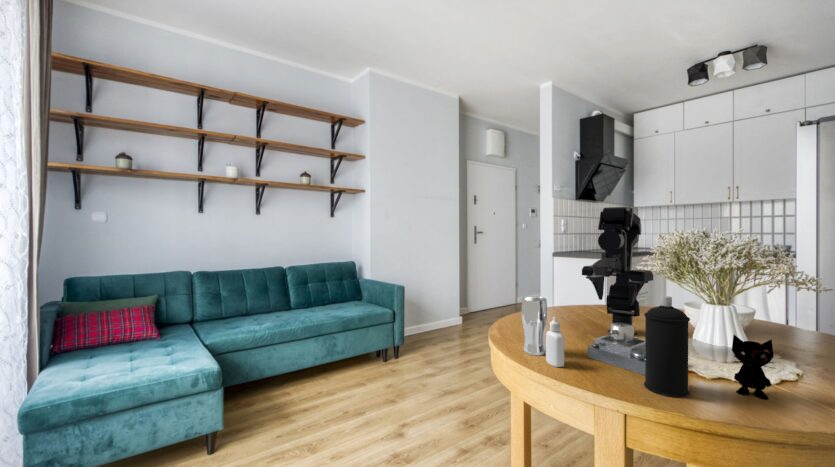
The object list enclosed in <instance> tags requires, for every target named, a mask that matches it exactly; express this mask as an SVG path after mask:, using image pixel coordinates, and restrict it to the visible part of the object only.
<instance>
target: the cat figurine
mask: <svg viewBox="0 0 835 467" xmlns="http://www.w3.org/2000/svg"><path fill="white" fill-rule="evenodd" d="M731 346H732V347H731V351H732V354H733V357H734V358H736V359H737V361H736V360H732V362H734V363H742V365H741V367H740V369H739V370H738V372H736V373H734V376H733V378H734V380H735V381H736V382H738V383H739V385H740V387H739V388H738V389H737V390H736V391H735V393H736V394H738V395H740V396H750V394H751V392H750V389H751V390H754V391H753V393H752V394H753V396H755V398H758V399H760V400H764V401H765V400H766V401H767V400H769V399H770V398H769V397H768V396H767V394H766V392H764V390H765V389H766V388H769V387H771V386H772V384H771V380H770V379H769V378H768V377H766V376H767V375H766V374H765V372H764V370H763V367H766V368H769V369H773V367H771V366H767V364H772V363H775V361H772V360H773V358H774V357H775V356H774V348H773V347H774V346H773V339H770V340H767V341H765V342H763V343H759V342H758V341H753V340H745V341H743V340H742V339H741V338H740V337H738V336H737V335H735V334H733V338H732V345H731ZM771 361H772V362H771ZM774 369H775V370H776V368H774Z"/></svg>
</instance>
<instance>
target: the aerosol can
mask: <svg viewBox="0 0 835 467" xmlns="http://www.w3.org/2000/svg"><path fill="white" fill-rule="evenodd" d="M643 316H644V317H645V322H644V323H645V324H644V325H645V328H644V329H645V339H644V340H645V375H644V376H645V378H644V379H645V381H644V383H643V385H644V388H646V389H647V390H648V391H651V392H653V393H655V394H657V395H661V396H665V397H669V398H670V397H671V398H685V397H688V396H690V393H691V392H690V390H689V322H690V320H691V318H690V317H689V316H687V315H686V313H684V311H682V310H680V309H678V308H676V307H674V306H673V297H672V296H669V295H661V296H660V305H659V306H654V307H651V308H650V309H648V310H647V312H645V313H644V314H643Z"/></svg>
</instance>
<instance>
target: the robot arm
mask: <svg viewBox="0 0 835 467" xmlns="http://www.w3.org/2000/svg"><path fill="white" fill-rule="evenodd" d="M597 228H598V231H603V232H602V233H601V234H600V235H599V236H598V239H597V243H598V246H599V247H600V248H601V249H602V250H603V251H604V252H602V253H601V259H599V260H597V261H596V262H594V263H593V264H590V265H584V266H583V267H582V268H581V276H585V278H586V279H588V280H589V281H590V282H591V283H592V285H593V287H594V289H595V292H596V294H597V298H598V300H599V301H602V300H603V297H604V287H605V278H607V277H608V278H609V277H612V276H613V277H615V282H614V284H611V285H610V286H609V291H608V295H606V298H605V299H606V311H607V312H606V313H607V315H608V314H610V315H612V318H611V319H612V320H611V322H612V323H626V324H631V325H633V326H634V324H633V321H634V320H633V317H634V318H637V317H640V313H641V312H640V309H641V308H640V302H639V301H638V295H639V293H640V291H641V290H642V289H643V286H644V285H645V284H649V282H652V281H654V273H653V271H652V270H650V269H649V270H648V269H638V268H637V269H633V270H632V266H633V251H634V250H633V249H634V247H635V246H636V245H637V244H638V243H639V239H640V236H641V235H642V222H641V217H639V216H638V215H637V214H636V213H635V212H634V208H633V207H630V206H629V207H627V206H615V207H613V206H610V207H609V206H608V207H604V208H602V211H600V214H599V221H598V227H597ZM610 331H611V329H608V330H607V333H610ZM637 334H638V330H637V331H636V330H634V335H637Z"/></svg>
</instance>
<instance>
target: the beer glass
mask: <svg viewBox="0 0 835 467" xmlns="http://www.w3.org/2000/svg"><path fill="white" fill-rule="evenodd" d="M521 299H522V301H521V323H522V327H523V334H524V344H523V353H525V354H527V355H529V356H530V355H531V356H543V355H546V342H545V339H546V332H547V331H546V330H547V325H548V302H547V301H548V300H547V298H545V297H541V296H524V297H522V298H521Z"/></svg>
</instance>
